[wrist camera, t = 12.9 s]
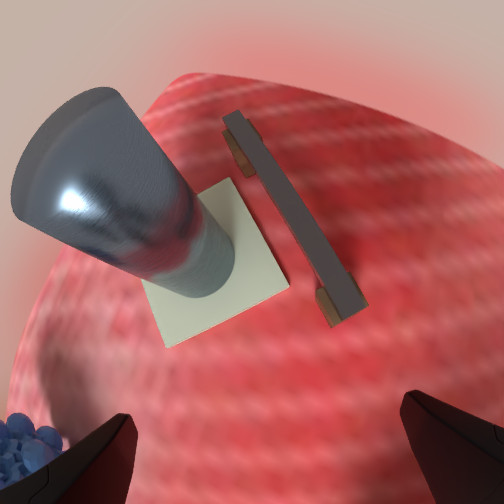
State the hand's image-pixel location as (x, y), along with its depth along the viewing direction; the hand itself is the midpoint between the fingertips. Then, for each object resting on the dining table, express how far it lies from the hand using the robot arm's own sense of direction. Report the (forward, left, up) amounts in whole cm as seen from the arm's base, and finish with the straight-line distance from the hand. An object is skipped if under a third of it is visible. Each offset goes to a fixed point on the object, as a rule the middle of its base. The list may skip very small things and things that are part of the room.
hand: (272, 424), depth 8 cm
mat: (+10, +2, -9) cm, 14 cm away
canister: (+10, +2, -9) cm, 13 cm away
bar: (+9, -5, -6) cm, 12 cm away
